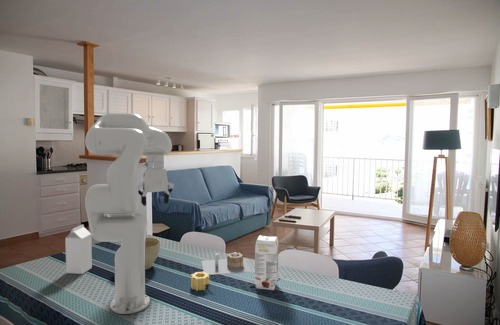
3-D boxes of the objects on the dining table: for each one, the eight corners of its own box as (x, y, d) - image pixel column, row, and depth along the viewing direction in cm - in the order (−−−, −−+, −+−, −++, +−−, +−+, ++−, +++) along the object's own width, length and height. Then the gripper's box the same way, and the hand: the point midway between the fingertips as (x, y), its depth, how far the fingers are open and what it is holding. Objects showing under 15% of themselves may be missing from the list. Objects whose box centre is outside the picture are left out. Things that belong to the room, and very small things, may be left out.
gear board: (252, 275, 140) (252, 258, 140) (204, 278, 136) (204, 261, 136) (245, 261, 156) (245, 246, 155) (201, 263, 152) (201, 248, 151)
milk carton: (92, 267, 145) (91, 224, 144) (82, 274, 138) (81, 229, 137) (76, 267, 146) (75, 223, 145) (66, 273, 139) (64, 228, 138)
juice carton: (276, 291, 126) (277, 241, 124) (253, 289, 127) (254, 240, 126) (278, 283, 133) (279, 235, 132) (256, 280, 135) (257, 234, 133)
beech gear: (245, 266, 146) (246, 256, 146) (232, 269, 142) (232, 259, 142) (237, 261, 151) (237, 251, 151) (224, 264, 148) (224, 254, 147)
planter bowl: (154, 274, 139) (153, 249, 138) (115, 273, 140) (114, 248, 139) (164, 260, 155) (164, 237, 154) (129, 259, 156) (129, 236, 155)
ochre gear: (209, 289, 126) (209, 278, 126) (191, 291, 125) (191, 279, 125) (208, 282, 133) (208, 271, 133) (190, 283, 132) (190, 272, 131)
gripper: (137, 166, 140) (137, 207, 141) (177, 165, 149) (177, 203, 151) (132, 165, 146) (132, 204, 147) (170, 164, 156) (170, 201, 157)
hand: (155, 204), depth 149 cm, fingers open, 9 cm apart
